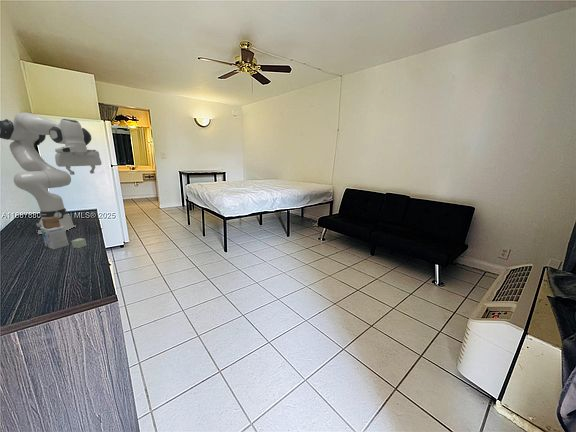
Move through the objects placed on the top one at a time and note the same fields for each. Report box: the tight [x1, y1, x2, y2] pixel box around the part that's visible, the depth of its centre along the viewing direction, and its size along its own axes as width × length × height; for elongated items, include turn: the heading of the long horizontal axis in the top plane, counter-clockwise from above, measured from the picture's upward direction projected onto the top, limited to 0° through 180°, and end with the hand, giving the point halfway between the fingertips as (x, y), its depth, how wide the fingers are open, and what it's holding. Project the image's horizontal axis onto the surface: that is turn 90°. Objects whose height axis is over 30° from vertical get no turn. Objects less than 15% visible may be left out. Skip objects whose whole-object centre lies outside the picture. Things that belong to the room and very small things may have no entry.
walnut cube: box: [42, 217, 60, 229], centre depth 123 cm, size 5×5×5 cm
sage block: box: [71, 237, 88, 249], centre depth 124 cm, size 4×4×4 cm
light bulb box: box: [39, 226, 70, 250], centre depth 125 cm, size 11×7×11 cm, turn 62°
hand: (82, 174), depth 136 cm, fingers open, 8 cm apart
